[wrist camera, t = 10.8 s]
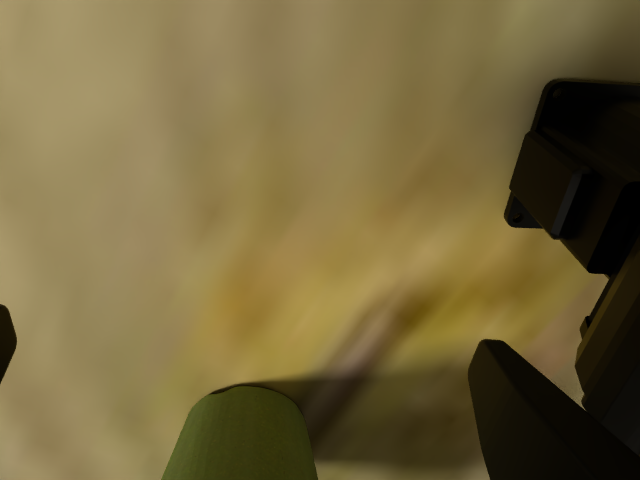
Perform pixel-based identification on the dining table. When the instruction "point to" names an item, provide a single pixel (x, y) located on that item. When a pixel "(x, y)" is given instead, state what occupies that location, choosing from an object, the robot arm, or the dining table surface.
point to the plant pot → (243, 439)
